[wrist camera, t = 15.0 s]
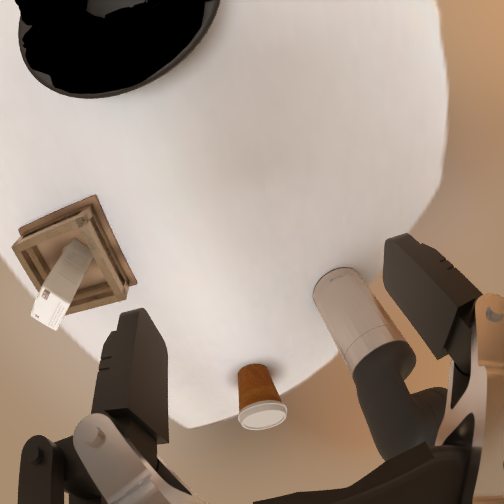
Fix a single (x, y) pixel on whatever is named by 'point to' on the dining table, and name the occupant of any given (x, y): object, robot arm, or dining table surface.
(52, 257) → the walnut board
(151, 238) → the dining table surface
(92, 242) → the shallow wooden tray
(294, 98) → the dining table surface
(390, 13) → the dining table surface
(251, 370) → the disposable coffee cup
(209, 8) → the bowl of black rocks
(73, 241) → the skincare box
